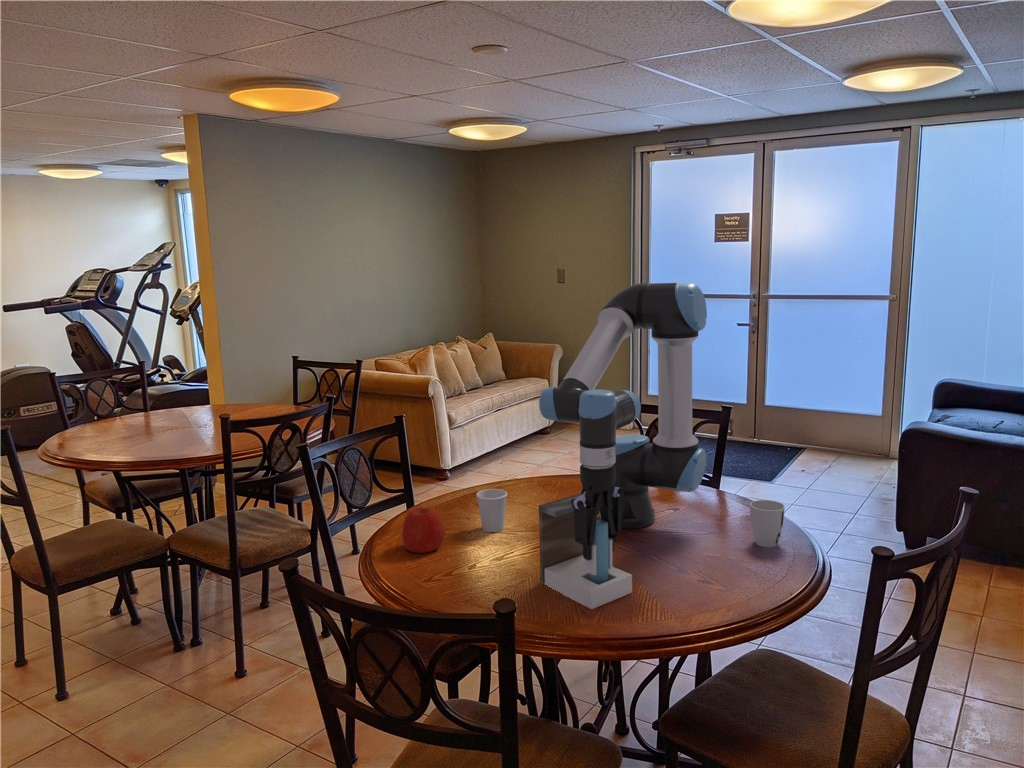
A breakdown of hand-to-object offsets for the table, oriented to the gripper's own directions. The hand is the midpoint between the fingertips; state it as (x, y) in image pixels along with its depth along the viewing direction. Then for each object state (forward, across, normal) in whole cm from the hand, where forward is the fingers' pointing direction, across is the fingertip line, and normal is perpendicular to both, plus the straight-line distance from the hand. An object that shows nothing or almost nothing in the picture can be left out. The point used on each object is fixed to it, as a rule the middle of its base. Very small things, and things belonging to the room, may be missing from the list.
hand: (598, 569), depth 158 cm
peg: (+5, 0, 0) cm, 5 cm away
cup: (+6, +51, -7) cm, 52 cm away
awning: (+6, +1, +10) cm, 11 cm away
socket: (+6, 0, +4) cm, 7 cm away
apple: (+6, -15, +48) cm, 51 cm away
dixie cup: (+6, +6, +47) cm, 48 cm away
